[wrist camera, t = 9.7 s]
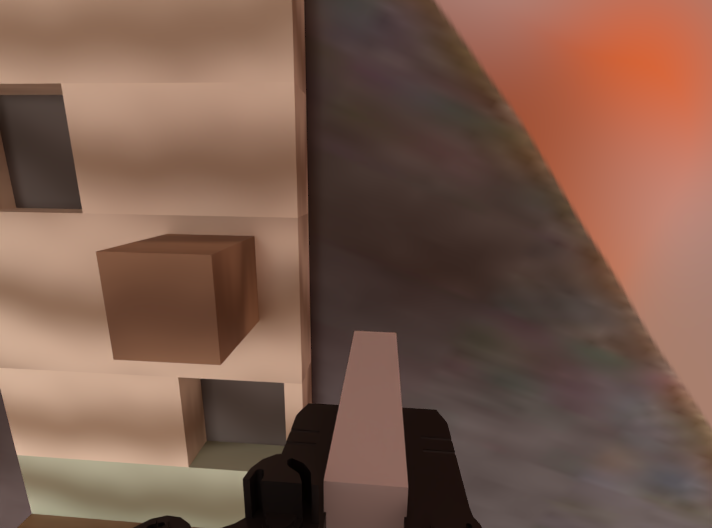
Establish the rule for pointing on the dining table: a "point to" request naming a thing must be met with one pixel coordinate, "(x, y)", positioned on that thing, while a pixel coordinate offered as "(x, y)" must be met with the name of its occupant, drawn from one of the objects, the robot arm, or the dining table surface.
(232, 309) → the walnut block
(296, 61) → the trap board
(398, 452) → the robot arm
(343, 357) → the dining table surface
